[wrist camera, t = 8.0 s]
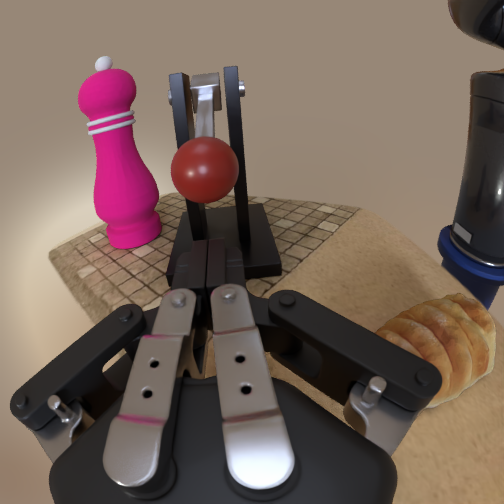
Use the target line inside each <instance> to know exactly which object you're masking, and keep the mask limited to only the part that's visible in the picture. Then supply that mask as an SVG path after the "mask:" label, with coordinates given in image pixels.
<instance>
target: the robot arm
mask: <svg viewBox="0 0 504 504" xmlns="http://www.w3.org/2000/svg"><path fill="white" fill-rule="evenodd" d="M448 7H449V11H450V15H451V17H452V19H453V21H454V23H455V24H456V26H457V27H458V28H459V29H460V30H461V31H462V32H463V33H465V34H466V35H468V36H470V37H472V38H473V39H476V40H478V41H481V42H483V43H486V44H489V45H491V46H494V47H497V48H499V49H502V50H504V0H448ZM470 95H471V96H470V113H469V130H468V140H467V149H466V157H465V164H464V170H463V176H462V183H461V188H460V193H459V198H458V203H457V207H456V212H455V216H454V220H453V224H452V228H451V229H450V233H449V240H450V242H451V244H452V245H453V247H454V248H455V249H456V250H457V251H458V252H459V253H461V254H462V255H463V256H465V257H466V258H468V259H469V260H471V261H473V262H475V263H477V264H479V265H482V266H484V267H488V268H492V269H504V69H501V70H498V71H482V72H476V73H474V74H472V76H471V79H470ZM208 330H214V333H213V345H214V355H215V364H216V373H217V375H216V376H212V377H209V378H205V370H206V361H207V351H208V341H207V334H208ZM123 348H124V349H125V351H126V352H127V353H126V354H125V355H123V356H122V357H121V358H120V359H119V360H118V361H117V362H116V363H114V364H113V365H112V366H111V367H110V368H109V369H107V370H106V371H105V372H102V369H103V366H104V365H105V364H106V363H107V362H108V361H109V360H110V359H111V358H112V357H114V356H115V355H116V354H117V353H118V352H119V351H121V350H122V349H123ZM265 352H270V354H271V356H272V357H273V358H274V359H275V360H277V361H278V362H279V363H281V364H282V365H283V366H285V367H286V368H288V369H289V370H291V371H292V372H293V373H295V374H296V375H298V376H299V377H301V378H302V379H303V380H305V381H306V382H308V383H309V384H311V385H312V386H314V387H315V388H317V389H318V390H320V391H321V392H323V393H324V394H326V395H327V396H329V397H330V398H332V399H333V400H335V401H336V402H338V403H340V404H341V405H343V406H344V409H343V415H344V418H345V420H346V421H347V423H348V424H350V425H351V426H352V427H353V428H354V429H355V430H354V429H352V428H351V427H349V426H348V425H347V424H345V423H344V422H342V421H341V420H339V419H338V418H337V417H335V416H334V415H332V414H331V413H330V412H328V411H327V410H325V409H324V408H323V407H321V406H320V405H319V404H317V403H316V402H315V401H313V400H312V399H311V398H309V397H308V396H307V395H305V394H304V393H303V392H301V391H300V390H299V389H297V388H296V387H295V386H293V385H291V384H289V383H287V382H285V381H283V380H280V379H277V378H273V377H271V375H270V371H269V368H268V364H267V360H266V356H265ZM441 386H442V375H441V373H440V371H439V369H438V368H437V367H436V366H435V365H433V364H432V363H430V362H428V361H426V360H424V359H422V358H420V357H418V356H416V355H415V354H413V353H411V352H409V351H407V350H405V349H403V348H401V347H399V346H397V345H396V344H394V343H392V342H390V341H388V340H386V339H384V338H382V337H381V336H379V335H377V334H375V333H373V332H371V331H369V330H367V329H366V328H364V327H362V326H360V325H358V324H356V323H354V322H353V321H351V320H349V319H347V318H345V317H343V316H341V315H340V314H338V313H336V312H334V311H332V310H330V309H328V308H327V307H325V306H323V305H321V304H319V303H317V302H316V301H314V300H312V299H310V298H308V297H306V296H305V295H303V294H301V293H299V292H297V291H294V290H281V291H278V292H275V293H274V294H272V295H271V296H270V297H269V299H265V298H259V297H256V296H254V295H252V294H251V293H249V291H248V290H247V288H246V282H245V274H244V266H243V258H242V252H241V251H240V250H239V249H238V248H237V247H231V248H226V244H225V238H217V239H209V240H199V241H193V242H192V248H191V252H185V253H182V254H181V255H180V257H179V258H178V259H177V263H176V268H175V273H174V277H173V282H172V287H171V291H170V292H168V293H167V294H166V295H165V296H164V297H163V298H162V300H161V304H160V306H158V307H156V308H154V309H150V310H147V311H144V312H143V311H142V309H141V307H140V306H138V305H135V304H126V305H123V306H121V307H119V308H117V309H116V310H114V311H113V312H112V313H111V314H109V315H108V316H107V317H106V318H104V319H103V320H102V321H100V322H99V323H98V324H97V325H95V326H94V327H93V328H92V329H90V330H89V331H88V332H87V333H85V334H84V335H83V336H82V337H80V338H79V339H78V340H77V341H75V342H74V343H73V344H72V345H71V346H69V347H68V348H67V349H66V350H64V351H63V352H62V353H61V354H59V355H58V356H57V357H56V358H55V359H54V360H52V361H51V362H50V363H49V364H47V365H46V366H45V367H44V368H43V369H41V370H40V371H39V372H38V373H37V374H36V375H34V376H33V377H32V378H31V379H30V380H29V381H27V382H26V383H25V384H24V385H23V386H21V387H20V388H19V389H18V390H17V391H16V392H15V393H14V394H13V396H12V398H11V401H10V410H11V412H12V414H13V415H14V416H15V417H16V418H17V419H18V420H19V421H21V422H22V423H23V424H24V425H25V426H26V427H27V428H28V429H29V430H30V431H32V432H33V433H34V435H35V436H36V438H37V440H38V441H39V443H40V444H41V446H42V448H43V449H44V451H45V452H46V454H47V455H48V457H49V458H50V460H51V461H52V463H53V465H52V467H51V470H50V475H49V486H50V491H51V494H52V497H53V500H54V503H55V504H392V501H393V497H394V494H395V491H396V487H397V479H398V478H397V470H396V466H395V464H394V462H393V460H392V458H391V456H392V454H393V453H394V451H395V450H396V448H397V447H398V445H399V444H400V442H401V441H402V439H403V438H404V436H405V435H406V433H407V431H408V430H409V428H410V427H411V425H412V423H413V422H414V420H415V419H416V418H417V417H418V416H419V415H420V414H421V412H422V411H423V410H424V409H425V408H426V407H427V405H428V404H429V403H430V402H431V400H432V399H433V398H434V397H435V395H436V394H437V393H438V392H439V390H440V389H441Z"/></svg>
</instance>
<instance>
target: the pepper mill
mask: <svg viewBox="0 0 504 504" xmlns="http://www.w3.org/2000/svg"><path fill="white" fill-rule="evenodd" d="M111 67H112V60H111V59H110V58H109V57H107V56H104V57H101V58H99V59H98V60H97V62H96V64H95V68H96V70H97V71H98V72H97V73H95V74H93V75H92V76H90V77H89V78H88V79H86V81H85V82H84V83H83V84H82V86H81V88H80V90H79V95H78V104H79V108H80V110H81V111H82V112H83V113H84V114H85V115H86V116H87V117H88V118H89V119H90V122H88V123H87V126H88V127H89V126H90V127H89V132H88V134H89V135H92V136H93V140H94V143H95V148H96V157H97V169H96V180H95V186H94V205H95V210H96V213H97V215H98V216H99V218H100V219H102V220H103V221H104V222H106V223H108V226H107V228H106V231H107V235H108V238H109V241H110V244H111V245H112V246H113V247H116V248H119V249H129V248H135V247H138V246H141V245H144V244H146V243H148V242H150V241H152V240H153V239H154V238H156V237H157V236H158V235H159V234H160V232H161V229H162V226H161V222H160V217H159V214H158V213H157V212H156V211H154V208H155V206H156V205H157V203H158V200H159V191H158V188H157V184H156V182H155V180H154V178H153V176H152V174H151V173H150V171H149V170H148V168H147V167H146V166H145V164H144V163H143V161H142V159H141V157H140V155H139V153H138V151H137V148H136V145H135V142H134V138H133V128H132V124H133V123H135V121H136V120H135V119H134V116H133V114H134V111H133V110H132V111H130V106H131V104H132V102H133V101H134V99H135V97H136V85H135V81H134V79H133V77H132V76H131V75H130V74H129V73H128V72H126V71H124V70H121V69H111Z"/></svg>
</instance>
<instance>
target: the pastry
mask: <svg viewBox="0 0 504 504" xmlns="http://www.w3.org/2000/svg"><path fill="white" fill-rule="evenodd" d="M375 334H377V335H379V336H381V337H382V338H384V339H386V340H388V341H390V342H392V343H394V344H396V345H397V346H399V347H401V348H403V349H405V350H407V351H409V352H411V353H413V354H415V355H416V356H418V357H420V358H422V359H424V360H426V361H428V362H430V363H432V364H433V365H435V366H436V367H437V368H438V369H439V371H440V373H441V375H442V386H441V389H440V390H439V392H438V393H437V394H436V395H435V397H434V398H433V399H432V400H431V402H430V403H429V404H428V405H427V407H426V408H434V407H436V406H438V405H439V404H441V403H443V402H447V401H450V400H453V399H455V398H457V397H458V396H459V395H460V394H461V393H462V391H463V390H465V389H466V388H469V387H470V386H472V385H473V384H474V383H475V382H476V381H477V380H479V379H480V378H482V377H484V376H486V375H487V374H489V373H490V372H491V371H492V369H493V367H494V354H495V350H496V344H495V336H496V329H495V324H494V322H493V320H492V318H491V316H490V314H489V313H488V312H487V310H486V309H485V308H484V307H483V306H482V304H481V303H480V302H478V301H476V300H474V299H468V298H466V297H465V296H464V295H463V294H461V293H457V294H456V295H446V296H445V297H444V298H442V299H437V300H431V301H426V302H423V303H422V304H418V305H416V306H414V307H412V308H411V309H409V310H406V311H403V312H401V313H400V314H399V315H398V316H396V317H395V318H393V319H391V320H389V321H388V322H387V323H386V324H385V325H384V326H383V327H381V328H380V329H378V330H377V332H376V333H375Z"/></svg>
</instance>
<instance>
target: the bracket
mask: <svg viewBox="0 0 504 504" xmlns="http://www.w3.org/2000/svg"><path fill="white" fill-rule="evenodd" d="M169 82H170V90H169V91H168V99H169V103H170V105H171V106H172V108H173V117H174V125H175V133H176V140H177V148H178V149H179V148H180V147H181V146H182V145H183V144H184V143H186V142H187V141H189V140H191V139H193V138H195V128H194V119H193V111H192V101H191V92H190V82H189V76H188V75H186V74H184V73H176V74H170V75H169ZM224 82H225V94H226V105H227V117H228V128H229V139H230V147H231V149H232V150H233V151H234V153H235V155H236V157H237V160H238V165H239V173H238V178H237V181H236V183H235V185H234V193H235V204H236V206H230V207H220V208H211V209H205V205H204V203H197V202H193V201H191V200H188V199H187V198H185V199H186V205H187V211H186V212H183V213H182V217H181V220H180V224H179V227H178V231H177V234H176V238H175V241H174V245H173V249H172V252H171V256H170V260H169V264H168V268H167V272H166V278H167V281H168V285H169V286H172V282H173V277H174V273H175V268H176V263H177V259H178V258H179V257H180V255H181V254H182V253H185V252H191V248H192V242H193V241H199V240H209V239H217V238H225V244H226V248H231V247H237V248H238V249H239V250H240V251H241V252H242V258H243V266H244V274H245V279H251V278H260V277H269V276H278V275H282V265H281V260H280V257H279V254H278V251H277V247H276V244H275V241H274V238H273V235H272V232H271V229H270V226H269V223H268V220H267V216H266V213H265V210H264V207H263V204H262V203H260V204H249V205H248V196H247V183H246V170H245V158H244V145H243V131H242V119H241V105H240V97H244V96H245V86H244V81H239V80H238V67H237V66H231V67H224Z"/></svg>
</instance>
